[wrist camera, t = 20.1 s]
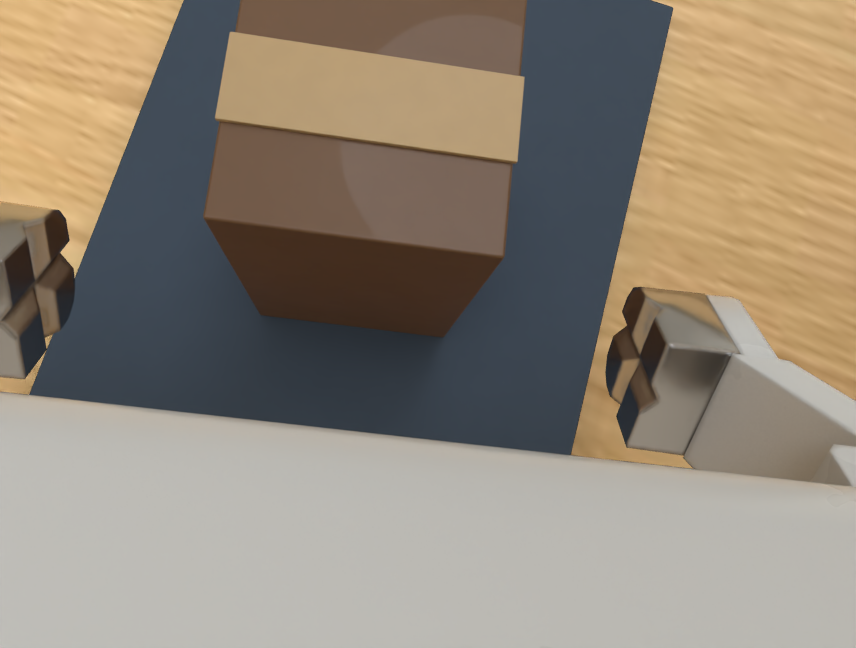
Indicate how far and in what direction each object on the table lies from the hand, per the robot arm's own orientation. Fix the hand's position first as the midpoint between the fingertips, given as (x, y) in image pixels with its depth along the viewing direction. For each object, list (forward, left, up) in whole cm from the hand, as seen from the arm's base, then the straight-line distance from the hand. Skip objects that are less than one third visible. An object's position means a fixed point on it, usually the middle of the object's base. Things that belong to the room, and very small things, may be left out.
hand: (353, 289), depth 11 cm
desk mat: (-2, -3, -10) cm, 10 cm away
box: (-2, -3, -9) cm, 10 cm away
